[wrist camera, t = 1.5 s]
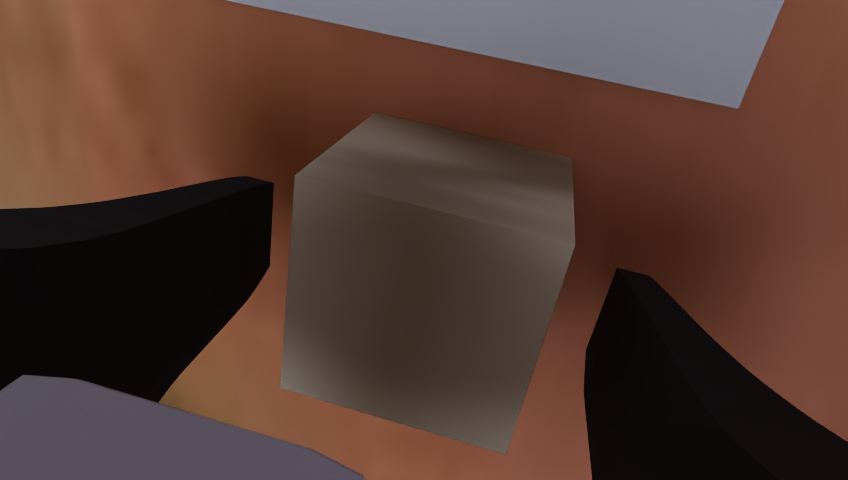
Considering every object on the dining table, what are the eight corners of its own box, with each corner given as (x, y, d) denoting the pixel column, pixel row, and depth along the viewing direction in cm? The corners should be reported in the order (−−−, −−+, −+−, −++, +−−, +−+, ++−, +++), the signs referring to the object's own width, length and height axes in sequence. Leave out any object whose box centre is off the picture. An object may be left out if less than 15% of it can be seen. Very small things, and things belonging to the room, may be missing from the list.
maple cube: (571, 156, 13) (575, 244, 9) (521, 321, 15) (505, 454, 11) (376, 111, 13) (295, 174, 9) (354, 277, 15) (280, 388, 11)
